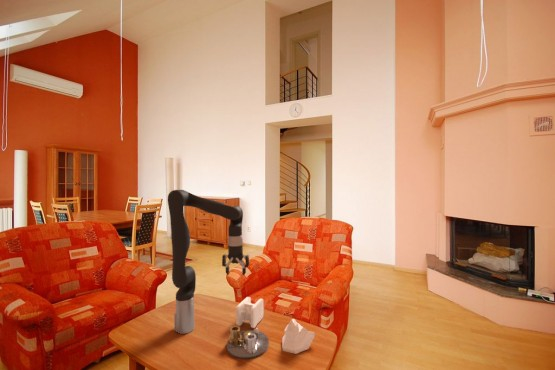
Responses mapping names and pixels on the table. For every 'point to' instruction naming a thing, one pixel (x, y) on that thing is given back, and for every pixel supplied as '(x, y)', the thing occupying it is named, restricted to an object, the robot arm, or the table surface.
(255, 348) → the gear
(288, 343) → the white faceted rock
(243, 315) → the cable organizer
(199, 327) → the table surface
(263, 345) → the carrier
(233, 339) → the seated gear
